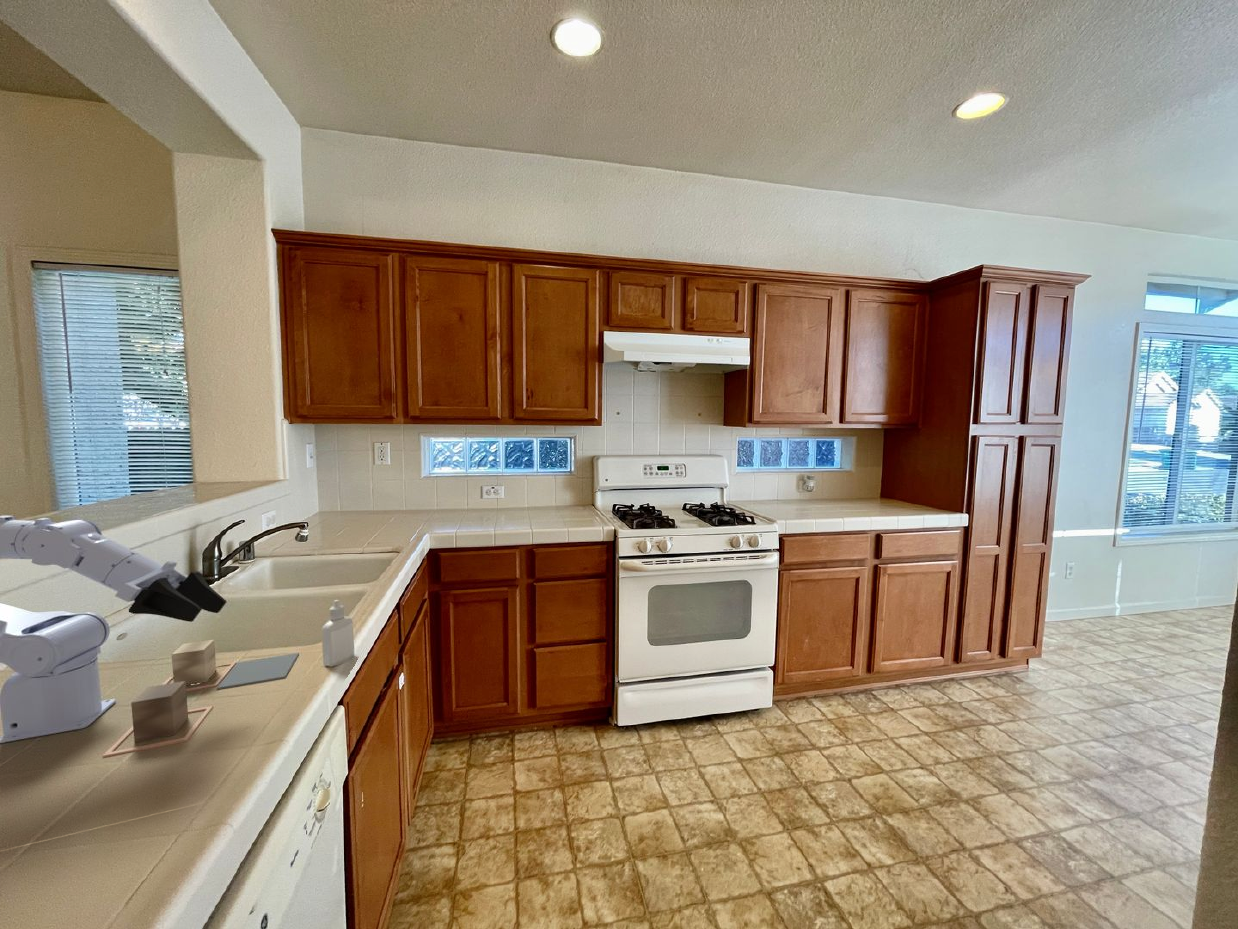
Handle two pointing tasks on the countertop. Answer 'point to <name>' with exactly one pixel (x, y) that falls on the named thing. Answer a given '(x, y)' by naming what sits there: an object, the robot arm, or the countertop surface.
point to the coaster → (259, 671)
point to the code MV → (211, 684)
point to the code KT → (188, 735)
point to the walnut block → (159, 711)
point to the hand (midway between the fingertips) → (209, 611)
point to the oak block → (194, 662)
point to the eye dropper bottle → (337, 637)
